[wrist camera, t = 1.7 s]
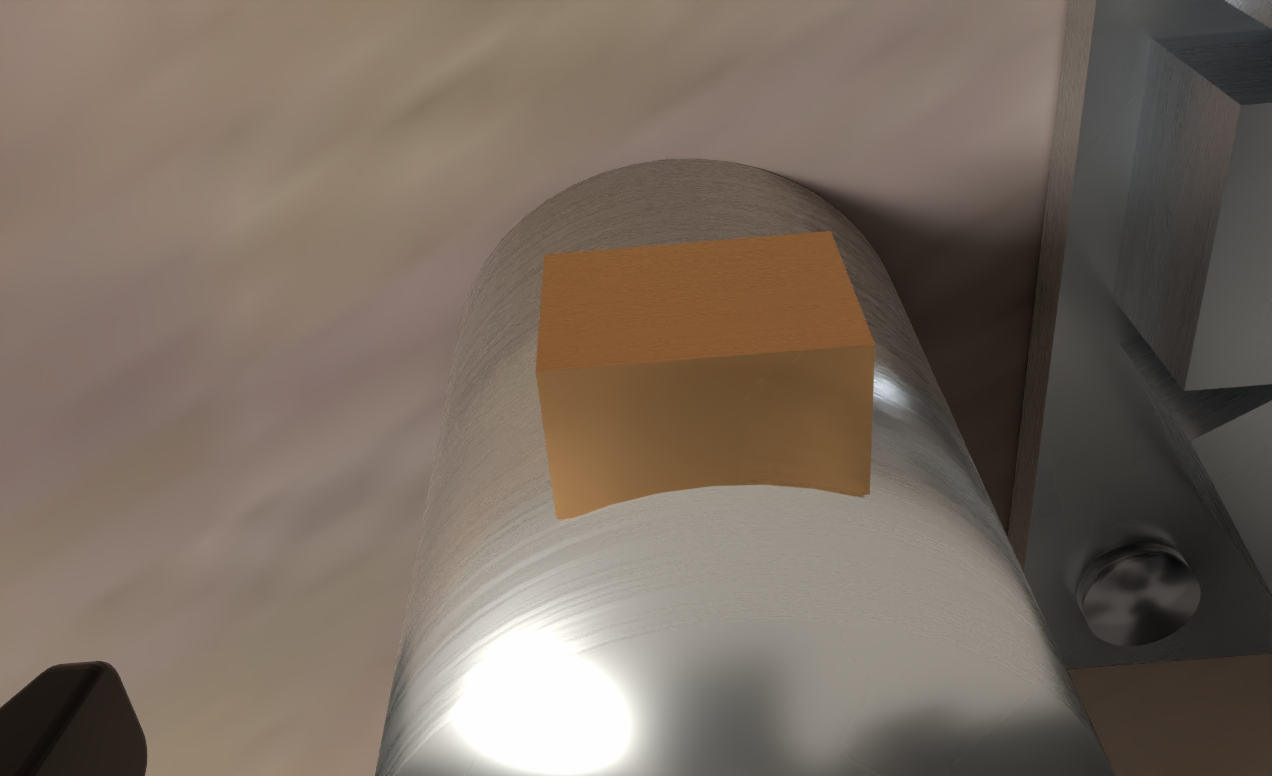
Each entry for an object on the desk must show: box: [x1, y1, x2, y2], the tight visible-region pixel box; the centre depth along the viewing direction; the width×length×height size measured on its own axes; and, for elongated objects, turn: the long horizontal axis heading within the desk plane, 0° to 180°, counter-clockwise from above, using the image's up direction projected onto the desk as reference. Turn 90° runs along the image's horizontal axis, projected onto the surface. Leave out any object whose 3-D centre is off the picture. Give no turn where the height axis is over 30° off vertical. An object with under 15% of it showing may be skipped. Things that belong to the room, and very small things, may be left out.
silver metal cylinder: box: [375, 159, 1115, 776], centre depth 9 cm, size 5×4×6 cm
